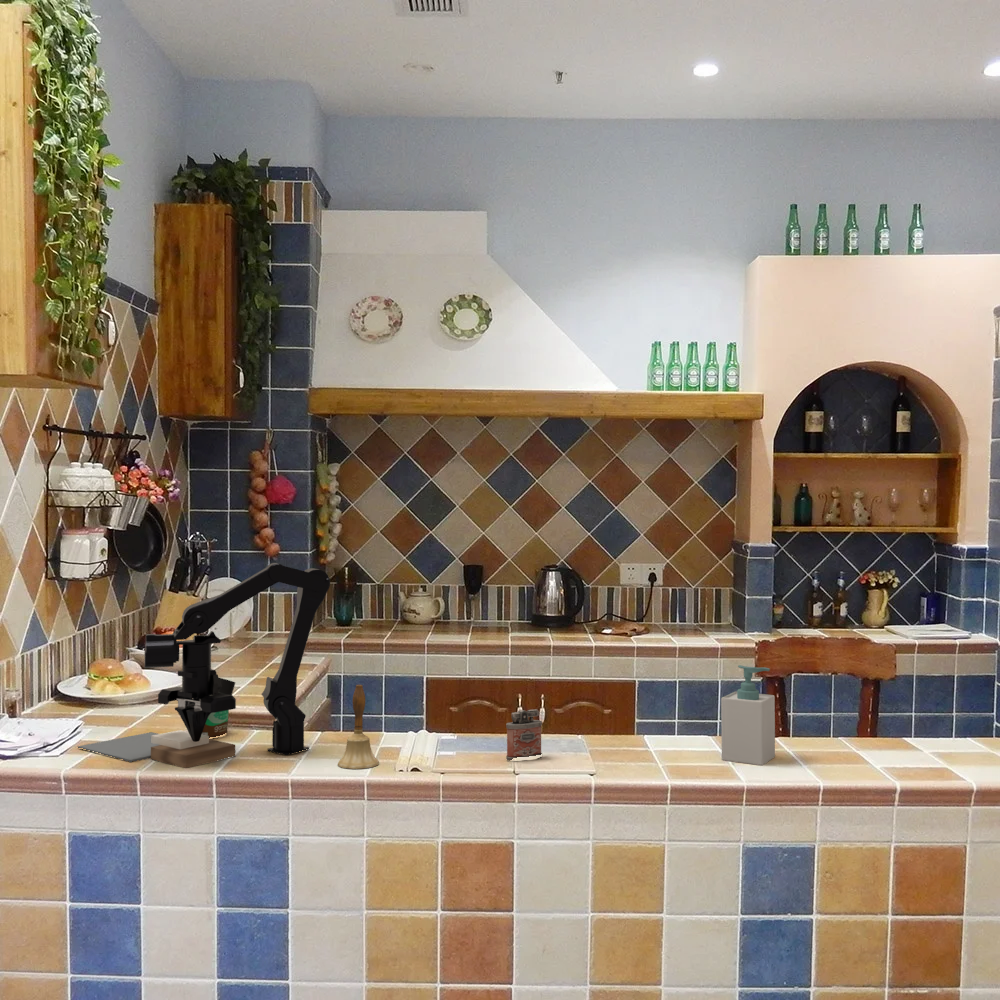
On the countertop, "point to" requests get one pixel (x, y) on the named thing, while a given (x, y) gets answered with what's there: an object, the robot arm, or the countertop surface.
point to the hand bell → (358, 739)
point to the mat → (125, 747)
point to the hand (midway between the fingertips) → (196, 741)
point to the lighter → (523, 735)
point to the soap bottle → (748, 723)
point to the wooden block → (193, 754)
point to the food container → (216, 724)
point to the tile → (178, 739)
